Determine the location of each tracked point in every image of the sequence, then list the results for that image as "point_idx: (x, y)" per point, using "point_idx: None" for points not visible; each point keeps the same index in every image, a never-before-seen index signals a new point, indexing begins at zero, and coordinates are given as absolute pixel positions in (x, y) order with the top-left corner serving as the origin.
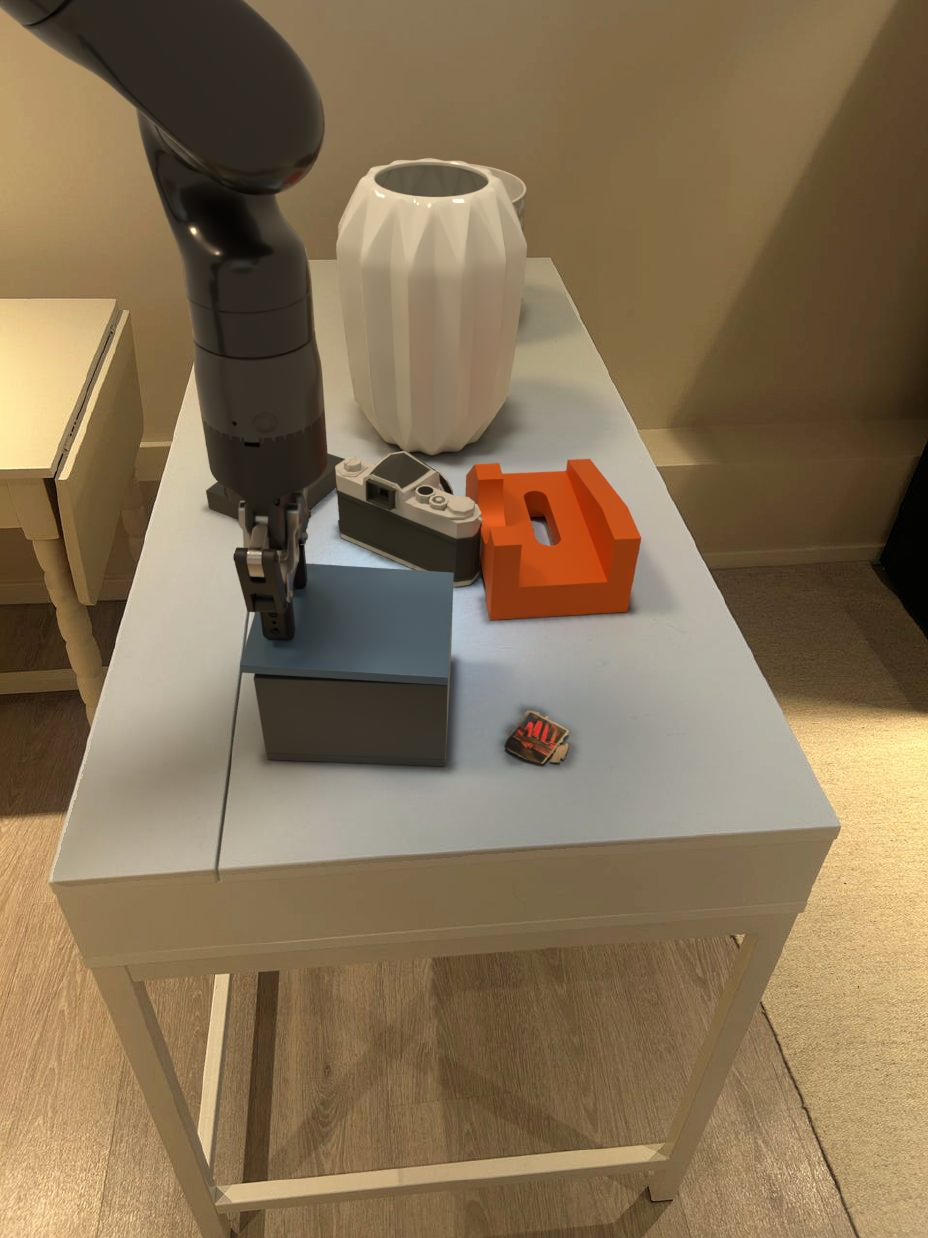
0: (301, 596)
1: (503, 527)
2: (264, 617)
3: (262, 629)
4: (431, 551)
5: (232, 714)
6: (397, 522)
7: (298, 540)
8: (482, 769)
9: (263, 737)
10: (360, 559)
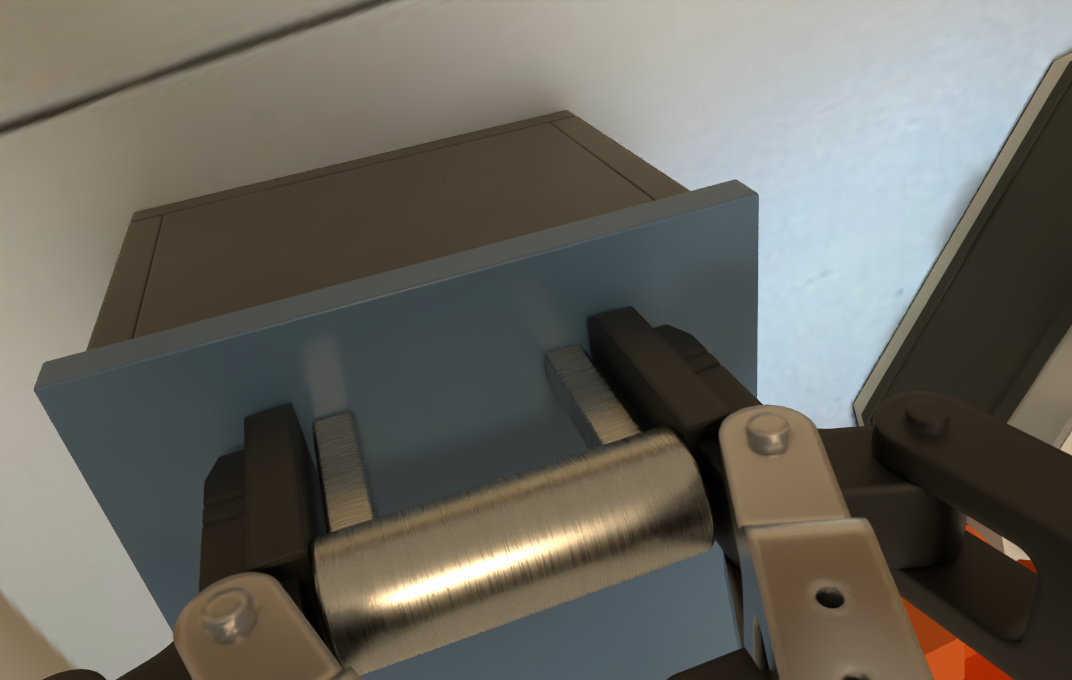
0: (557, 408)
1: (959, 659)
2: (201, 561)
3: (244, 440)
4: (945, 385)
5: (269, 25)
6: (1051, 306)
7: (727, 569)
8: None
9: (123, 246)
10: (960, 149)
